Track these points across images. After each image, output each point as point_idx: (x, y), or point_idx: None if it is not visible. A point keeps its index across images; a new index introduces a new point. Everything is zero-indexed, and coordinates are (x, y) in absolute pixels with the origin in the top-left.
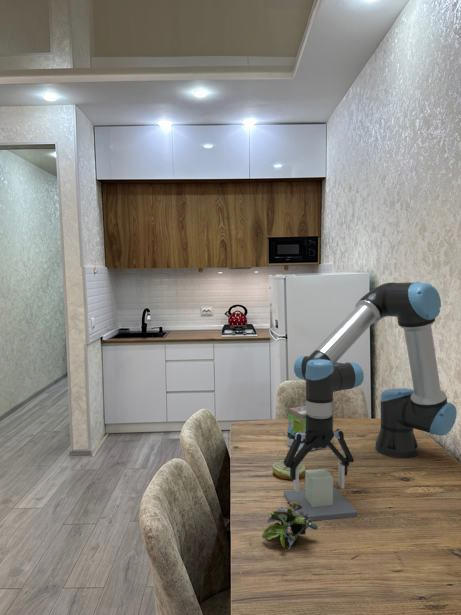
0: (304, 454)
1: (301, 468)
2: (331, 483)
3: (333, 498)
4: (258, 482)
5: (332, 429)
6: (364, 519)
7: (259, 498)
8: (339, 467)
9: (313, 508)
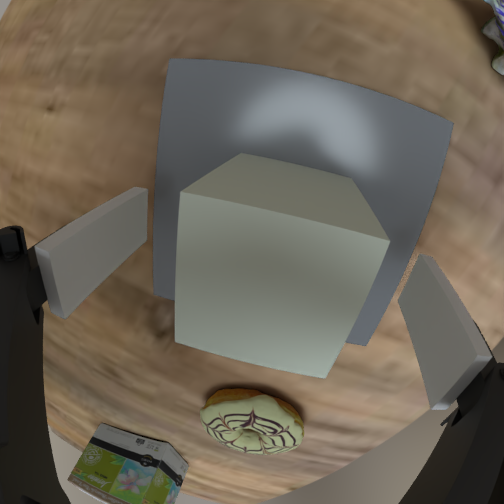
0: (467, 494)
1: (221, 414)
2: (214, 179)
3: None
4: (370, 409)
5: (86, 448)
6: (166, 34)
7: None
8: (78, 281)
9: (356, 163)
